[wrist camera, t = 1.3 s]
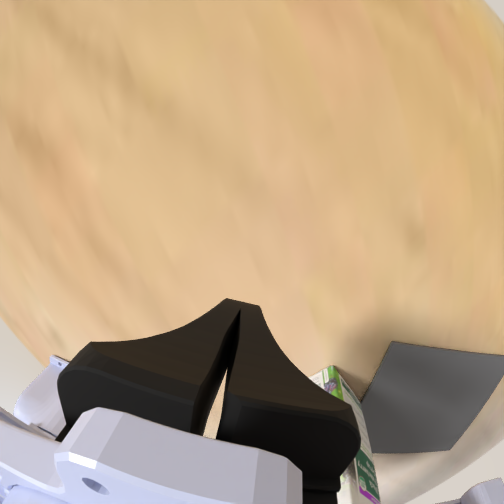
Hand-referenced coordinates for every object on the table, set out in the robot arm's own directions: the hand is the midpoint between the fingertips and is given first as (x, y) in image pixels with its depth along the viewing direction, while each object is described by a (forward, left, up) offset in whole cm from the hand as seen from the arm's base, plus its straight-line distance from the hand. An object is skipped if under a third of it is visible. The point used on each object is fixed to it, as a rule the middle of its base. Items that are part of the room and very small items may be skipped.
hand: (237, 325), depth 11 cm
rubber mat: (+20, -12, -10) cm, 25 cm away
